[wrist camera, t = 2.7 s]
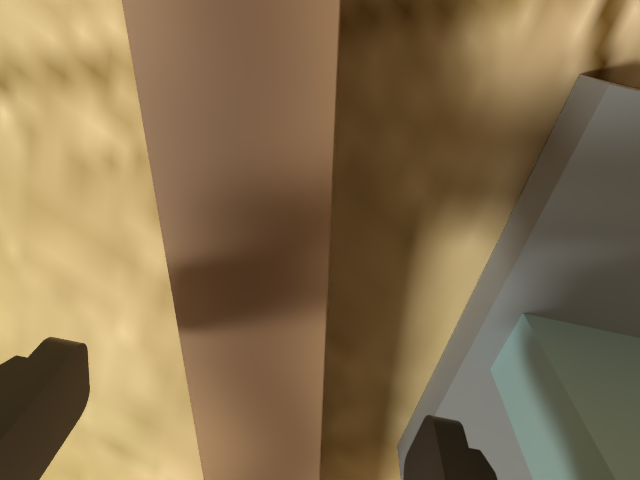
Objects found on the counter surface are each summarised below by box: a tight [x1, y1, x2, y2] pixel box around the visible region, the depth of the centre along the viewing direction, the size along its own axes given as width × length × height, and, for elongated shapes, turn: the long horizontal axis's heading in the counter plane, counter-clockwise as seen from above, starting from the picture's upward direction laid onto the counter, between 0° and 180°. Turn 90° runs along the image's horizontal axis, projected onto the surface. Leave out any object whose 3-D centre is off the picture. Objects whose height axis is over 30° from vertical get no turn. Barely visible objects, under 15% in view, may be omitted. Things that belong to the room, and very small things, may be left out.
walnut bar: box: [122, 0, 341, 480], centre depth 14 cm, size 4×26×4 cm, turn 179°
